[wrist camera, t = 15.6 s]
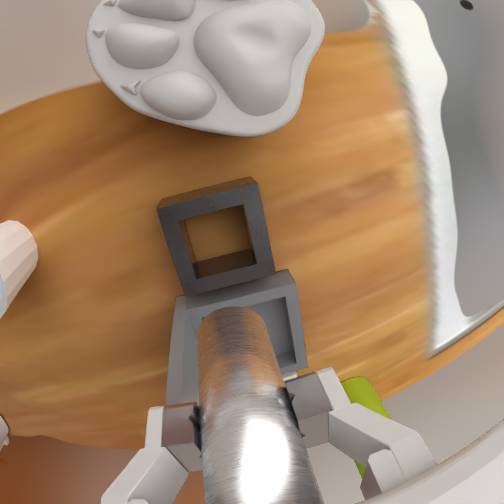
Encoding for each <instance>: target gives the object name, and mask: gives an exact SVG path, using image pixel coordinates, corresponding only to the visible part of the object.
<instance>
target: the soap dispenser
mask: <svg viewBox="0 0 504 504" xmlns="http://www.w3.org/2000/svg"><path fill="white" fill-rule="evenodd" d="M341 385H342V387H343V389H344V391H345V393H346V395H347V397H348V399H349V401H350V403H351V404H353V403H358V404H360V405H362V406H364V407H366V408H368V409H370V410H372V411H374V412H376V413H378V414H380V415H382V416H384V417H386V418H388V419H390V420H392V419H391V417H390V416H389V414H388V413H387V411H386V409H385V407H384V406H383V404H382V402H381V401H380V399H379V397H378V395H377V394H376V392H375V390H374V389H373V387H372V385H371V384H370V382H369V381H368V379H366V378H365V377H353V378H350V379H347V380H345V381H343V382H342V383H341ZM354 461H355V460H354ZM355 463H356V465H357V468H358V470H359V472H360V475H361V477H362V479H363V476H364V472H365V469H366V467H364V466H363V465H361V464H359V463H358V462H356V461H355Z"/></svg>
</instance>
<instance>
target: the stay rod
mask: <svg viewBox="0 0 504 504" xmlns="http://www.w3.org/2000/svg"><path fill="white" fill-rule="evenodd" d="M198 389H199V417H200V437H201V455H202V469H203V481H204V482H203V483H204V494H205V504H324V502H323V499H322V496H321V493H320V490H319V487H318V484H317V481H316V478H315V475H314V472H313V469H312V466H311V463H310V460H309V457H308V454H307V451H306V448H305V445H304V442H303V439H302V436H301V433H300V431H299V428H298V425H297V422H296V419H295V416H294V412H293V408H292V405H291V404H290V401H289V398H288V395H287V391H286V388H285V384H284V381H283V377H282V374H281V371H280V368H279V365H278V362H277V359H276V356H275V353H274V350H273V346H272V343H271V340H270V337H269V334H268V331H267V328H266V325H265V322H264V320H263V319H262V318H261V317H260V316H259V315H258V314H257V313H256V312H254V311H252V310H250V309H248V308H244V307H238V306H232V307H224V308H221V309H218V310H216V311H214V312H212V313H210V314H209V315H208V316H207V317H206V318H205V319H204V320H203V321H202V322H201V324H200V326H199V329H198Z"/></svg>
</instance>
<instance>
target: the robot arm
mask: <svg viewBox="0 0 504 504" xmlns="http://www.w3.org/2000/svg"><path fill="white" fill-rule="evenodd" d="M284 384H285V388H286V391H287V395H288V398H289V401H290V404H291V405H292V408H293V412H294V416H295V419H296V422H297V425H298V428H299V431H300V433H301V436H302V439H303V442H304V445H305V448H309V447H313V446H316V445H320V444H323V443H327V442H330V444H332V445H333V446H335V447H336V448H337V449H339V450H340V451H342V452H343V453H345V454H346V455H348V456H349V457H351V458H352V459H354V460H355V461H356V462H358V463H359V464H361V465H363V466H364V467H366V469H365V472H364V476H363V479H362V483H361V486H360V488H361V491H362V493H363V496H364V498H365V500H364V501H362V502H359V503H356V504H504V419H503V420H502V421H500V422H499V423H498V424H497V425H495V426H494V427H493V428H492V429H490V430H489V431H488V432H486V433H485V434H484V435H482V436H481V437H480V438H478V439H477V440H475V441H474V442H473V443H471V444H470V445H468V446H467V447H466V448H464V449H462V450H461V451H459V452H458V453H456V454H455V455H453V456H451V457H450V458H448V459H447V460H445V461H443V462H442V463H440V464H438V465H437V463H436V461H435V460H434V458H433V456H432V455H431V453H430V451H429V450H428V448H427V446H426V445H425V443H424V441H423V440H422V438H421V436H420V435H419V433H418V432H416V431H414V430H412V429H410V428H408V427H405V426H403V425H401V424H399V423H396V422H395V421H392V420H390V419H388V418H386V417H384V416H382V415H380V414H378V413H376V412H374V411H372V410H370V409H368V408H366V407H364V406H362V405H360V404H358V403H353V404H351V403H350V401H349V399H348V397H347V395H346V393H345V391H344V389H343V387H342V385H341V383H340V381H339V379H338V377H337V375H336V373H335V372H334V370H333V368H332V367H328V368H325V369H322V370H319V371H316V372H312V373H308V374H305V375H302V376H299V377H296V378H292V379H289V380H285V381H284ZM7 434H8V427H7V425H6V423H5V421H4V420H3V418H2V417H1V416H0V450H1V448H2V446H3V444H4V445H8V443H9V439H8V437H7ZM199 470H203V469H202V455H201V437H200V417H199V406H198V404H197V403H196V402H188V403H181V404H173V405H165V406H157V407H150V409H149V411H148V418H147V427H146V437H145V448H143V449H140V450H139V451H138V452H137V454H136V455H135V456H134V457H133V459H132V460H131V461H130V462H129V463H128V465H127V466H126V467H125V468H124V470H123V471H122V472H121V473H120V475H119V476H118V477H117V478H116V479H115V481H114V482H113V483H112V484H111V485H110V487H109V488H108V489H107V490H106V492H105V493H104V494H103V495H102V499H101V504H172V503H173V501H174V500H175V498H176V496H177V494H178V492H179V491H180V489H181V487H182V485H183V483H184V482H185V480H186V478H187V476H188V474H189V472H192V471H199Z"/></svg>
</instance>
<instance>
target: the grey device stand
mask: <svg viewBox="0 0 504 504" xmlns="http://www.w3.org/2000/svg"><path fill="white" fill-rule="evenodd" d="M275 273H276V274H274V275H270V276H266V277H262V278H258V279H255V280H251V281H247V282H243V283H239V284H235V285H231V286H227V287H223V288H219V289H215V290H211V291H207V292H203V293H198V294H194V295H190V296H185V295H183V296H179V297H176V301H175V309H174V317H173V326H172V334H171V344H170V353H169V364H168V375H167V387H166V401H165V405H173V404H181V403H188V402H196V403H197V404H198V406H199V389H198V329H199V326H200V324H201V322H202V321H203V320H204V319H205V318H206V317H207V316H208V315H209V314H210V313H212V312H214V311H216V310H218V309H221V308H224V307H232V306H238V307H244V308H248V309H250V310H252V311H254V312H256V313H257V314H258V315H259V316H260V317H261V318H262V319H263V320H264V322H265V325H266V328H267V331H268V334H269V337H270V340H271V343H272V346H273V350H274V353H275V356H276V359H277V362H278V365H279V368H280V371H281V374H282V375H283V374H287V373H290V372H294V371H297V370H301V369H304V368H308V365H307V358H306V350H305V343H304V336H303V328H302V321H301V315H300V308H299V301H298V294H297V288H296V282H295V281H294V279H293V277H292V275H291V274H290V272H289V270H288V269H286V270H282V271H278V272H275Z"/></svg>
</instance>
